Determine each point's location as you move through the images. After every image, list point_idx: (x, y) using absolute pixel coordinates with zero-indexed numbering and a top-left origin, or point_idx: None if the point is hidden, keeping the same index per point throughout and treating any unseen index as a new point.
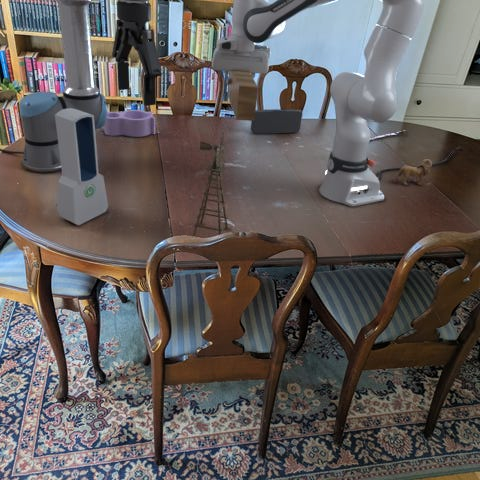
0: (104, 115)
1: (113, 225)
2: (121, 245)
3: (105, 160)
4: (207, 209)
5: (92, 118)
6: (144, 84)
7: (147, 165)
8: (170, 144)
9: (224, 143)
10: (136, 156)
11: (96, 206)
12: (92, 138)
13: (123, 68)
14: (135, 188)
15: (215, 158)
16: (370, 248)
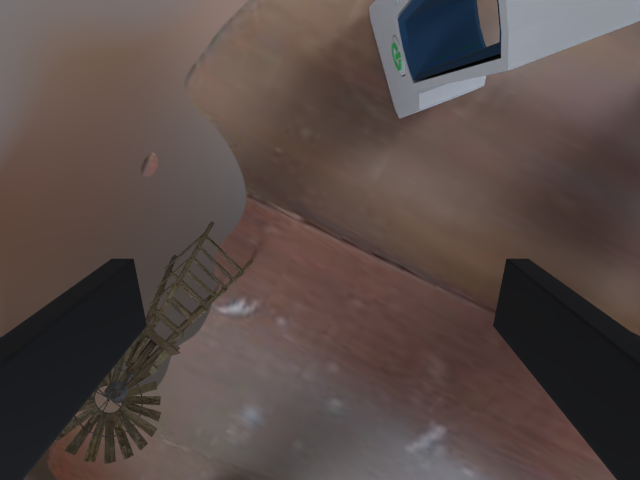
0: None
1: (333, 99)
2: (249, 77)
3: (629, 226)
4: (176, 269)
5: (498, 60)
6: (2, 347)
7: None
8: None
9: (153, 429)
10: (597, 298)
11: (392, 80)
12: (457, 63)
13: (615, 406)
14: (456, 221)
15: (132, 365)
16: (71, 440)
